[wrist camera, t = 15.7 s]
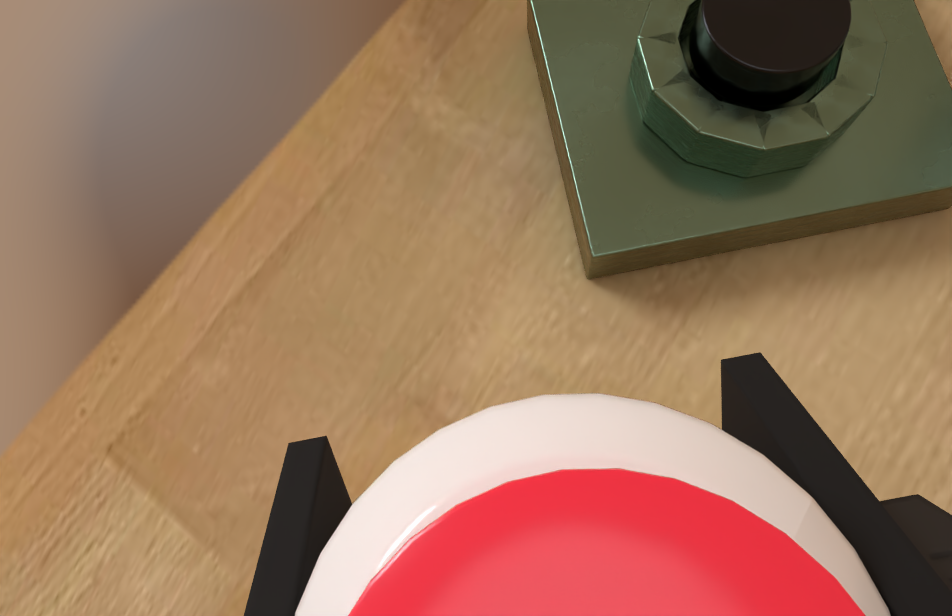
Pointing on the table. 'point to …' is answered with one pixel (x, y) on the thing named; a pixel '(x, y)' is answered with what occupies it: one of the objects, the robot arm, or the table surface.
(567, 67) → the button box
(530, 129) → the table surface
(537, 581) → the pill bottle
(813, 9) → the button
